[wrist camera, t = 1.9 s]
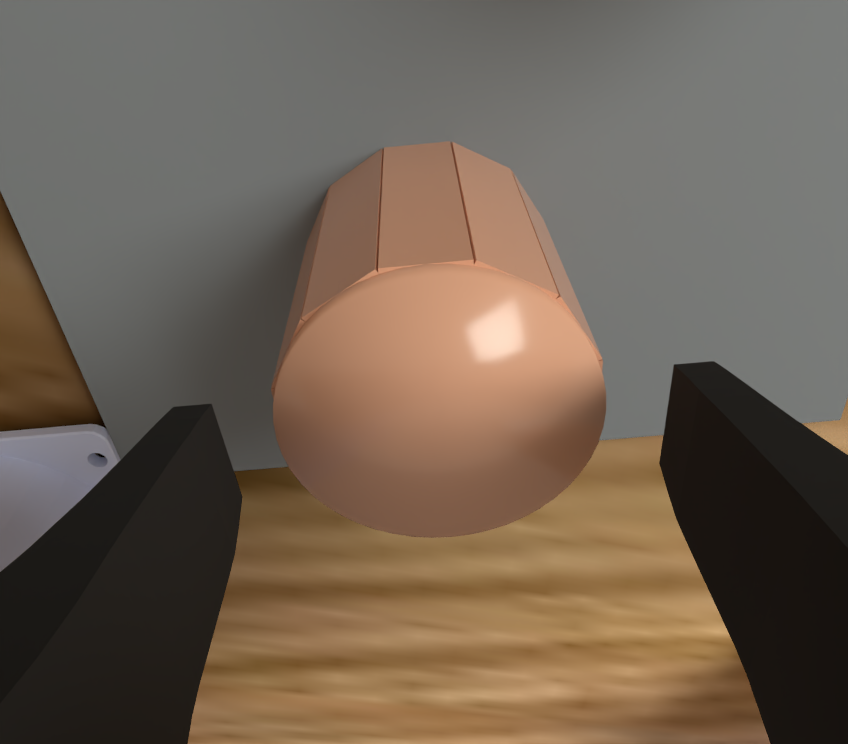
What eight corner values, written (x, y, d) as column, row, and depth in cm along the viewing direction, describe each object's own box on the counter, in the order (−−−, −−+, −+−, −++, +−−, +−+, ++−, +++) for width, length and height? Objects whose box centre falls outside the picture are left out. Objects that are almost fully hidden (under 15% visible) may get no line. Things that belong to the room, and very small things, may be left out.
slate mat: (832, 410, 20) (845, 426, 19) (133, 470, 20) (126, 487, 20) (1358, -1254, 7) (1440, -1349, 7) (-509, -997, 8) (-579, -1064, 7)
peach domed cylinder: (542, 347, 18) (597, 525, 13) (331, 365, 18) (306, 548, 13) (545, 131, 15) (618, 259, 10) (289, 156, 15) (236, 293, 10)
